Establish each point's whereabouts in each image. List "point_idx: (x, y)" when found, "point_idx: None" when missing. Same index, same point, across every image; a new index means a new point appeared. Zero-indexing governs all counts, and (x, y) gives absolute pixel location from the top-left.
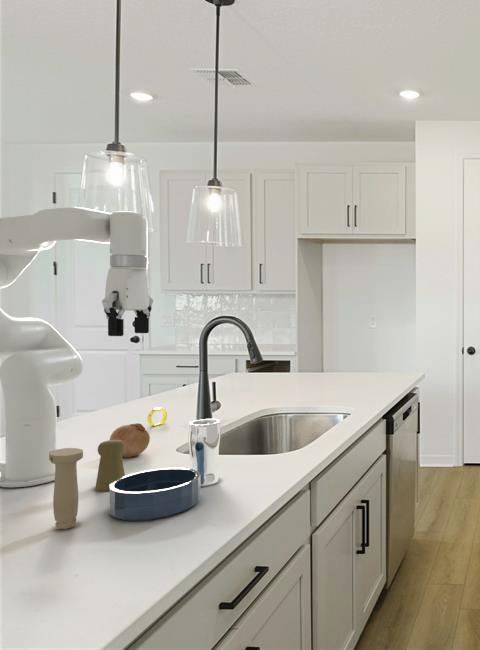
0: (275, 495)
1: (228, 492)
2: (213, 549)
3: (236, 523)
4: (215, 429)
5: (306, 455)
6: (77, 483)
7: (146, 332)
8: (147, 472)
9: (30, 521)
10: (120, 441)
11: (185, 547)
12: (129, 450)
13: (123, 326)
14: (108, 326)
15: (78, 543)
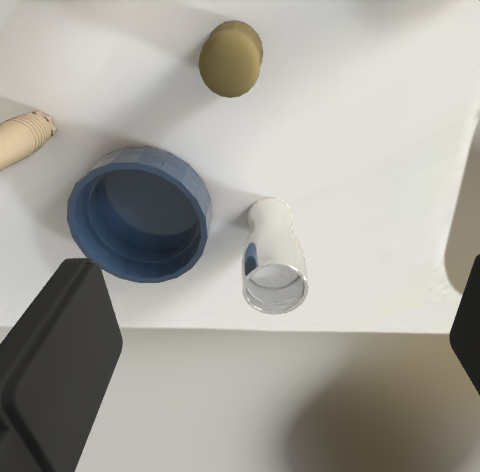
0: (220, 327)
1: (225, 271)
2: None
3: (122, 320)
4: (264, 303)
5: (426, 309)
6: (17, 161)
7: (455, 339)
8: (177, 186)
9: (40, 38)
10: (237, 90)
11: None
12: None
13: (88, 417)
14: (22, 321)
15: (10, 184)
